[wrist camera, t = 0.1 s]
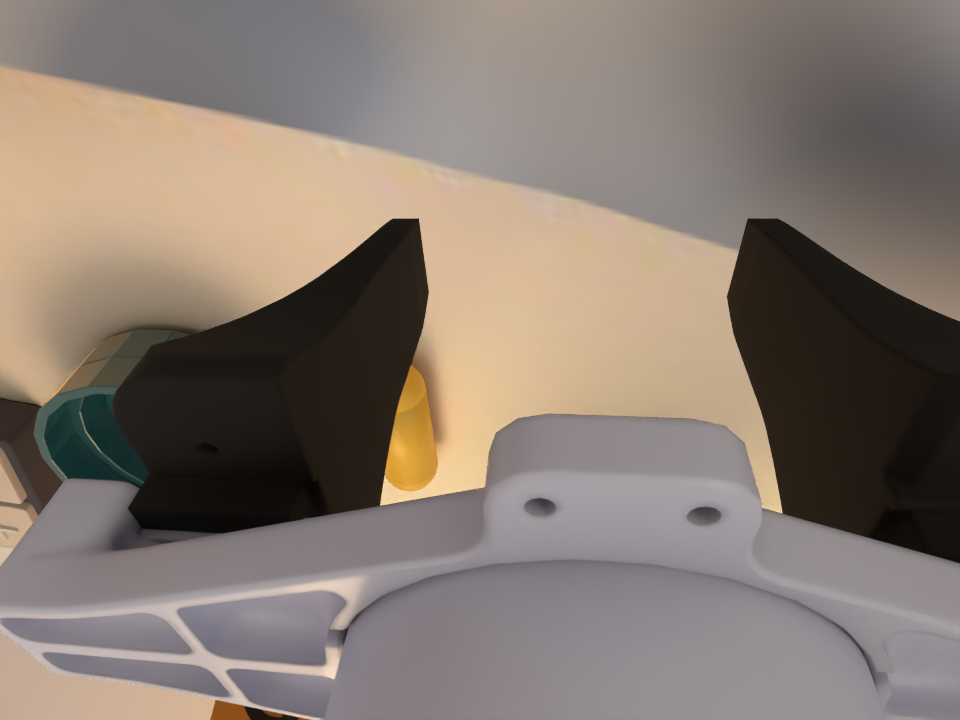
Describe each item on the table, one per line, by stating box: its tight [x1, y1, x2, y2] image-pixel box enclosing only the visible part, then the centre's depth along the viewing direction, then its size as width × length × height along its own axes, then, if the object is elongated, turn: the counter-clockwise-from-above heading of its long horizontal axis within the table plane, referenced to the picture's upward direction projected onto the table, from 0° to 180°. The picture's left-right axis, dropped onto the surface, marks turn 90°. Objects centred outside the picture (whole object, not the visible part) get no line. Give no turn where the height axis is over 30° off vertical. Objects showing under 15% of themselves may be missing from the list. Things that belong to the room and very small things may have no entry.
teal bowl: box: [34, 329, 190, 489], centre depth 33 cm, size 13×13×4 cm
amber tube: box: [385, 365, 438, 491], centre depth 31 cm, size 10×3×3 cm, turn 3°
